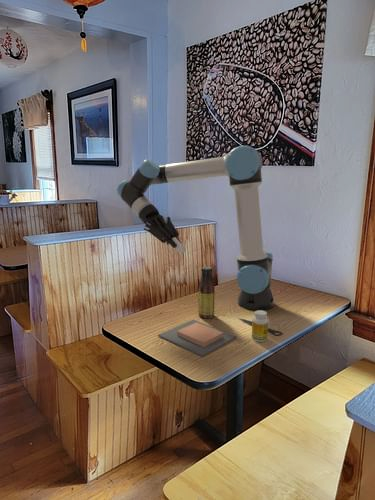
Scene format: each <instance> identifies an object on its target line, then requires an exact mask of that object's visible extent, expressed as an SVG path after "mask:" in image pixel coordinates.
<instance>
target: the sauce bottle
mask: <svg viewBox="0 0 375 500" xmlns="http://www.w3.org/2000/svg"><path fill="white" fill-rule="evenodd" d="M212 272H213V267H212V266H209V265H207V266H206V265H205V266H201V280H200V282H199V285H198V300H197V301H198V309H197V310H198V316H199V317H200V318H203V319H211V318H214V317H215V307H216V306H215V305H216V304H215V303H216V301H215V298H216V297H215V295H216V291H215V282H214V280H212V278H213V277H212V276H213V275H212V274H213V273H212Z"/></svg>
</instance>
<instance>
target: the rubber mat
mask: <svg viewBox="0 0 375 500" xmlns="http://www.w3.org/2000/svg"><path fill="white" fill-rule="evenodd" d="M196 322H197V323H200V324H202V325H205V326H207V327H210V328H212V329H215V330H218V331H220V332H223V337H222V338H220V339H218V340H216V341H214V342H212V343H210V344H209V345H207V346H205V347H203V346H200V345H198V344H196V343H193V342H191V341H189V340H187V339H184V338H182V337H180V336H178V335H177V331H178V330H181V329H183V328H185V327H187V326H190V325H192V324H194V323H196ZM158 337H159V338H161V339H163V340H165V341H168V342H170V343H172V344H173V345H177V346H179V348H180V347H181V348H182V349H185V350H187V351H189V352H191V353H194V354H196V355H198V356H200V357H202V358H203V357H205V356H206V355H208V354H210V353H213V352H214V351H215V350H218V349H219V348H221V347H223V346H225V345H226V344H228V343H230V342H232V341H233V340H236V339H237V337H238V336H237V335H234V334H232V333H229V332H227V331H224V330H222V329H220V328H216V327H214V326H211V325H209V324H206V323H204V322H201V321H198V320H195V319H192V320H191V319H190V320H189V321H186V322H185V323H182V324H180V325H177V326H175V327H173V328H171V329H168V330H165V331H164V332H161V333H158Z"/></svg>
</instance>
